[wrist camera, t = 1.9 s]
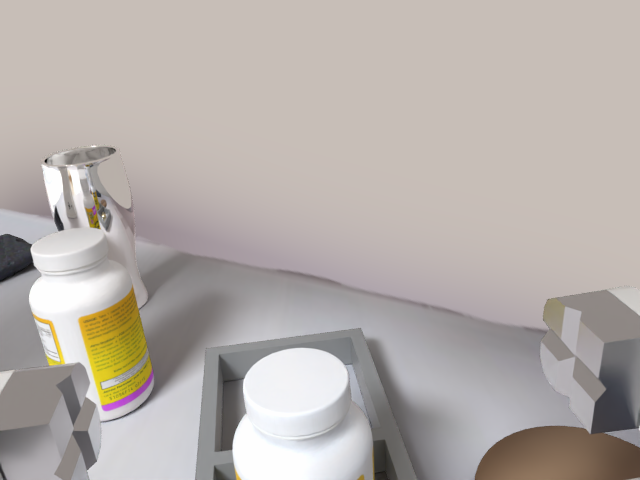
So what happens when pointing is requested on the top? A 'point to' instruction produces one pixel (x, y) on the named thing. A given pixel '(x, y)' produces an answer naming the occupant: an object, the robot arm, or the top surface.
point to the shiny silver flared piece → (95, 201)
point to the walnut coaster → (560, 456)
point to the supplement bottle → (91, 318)
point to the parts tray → (346, 345)
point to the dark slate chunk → (13, 255)
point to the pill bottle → (301, 421)
